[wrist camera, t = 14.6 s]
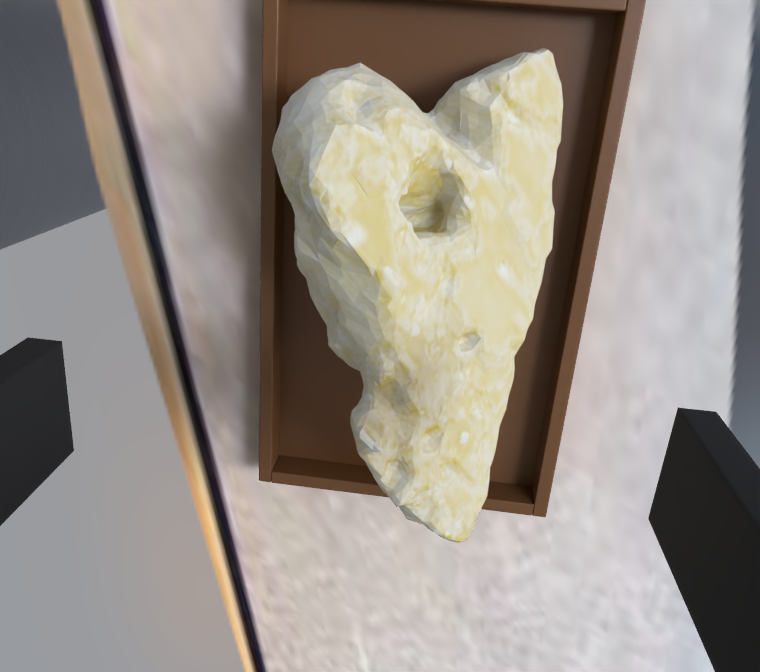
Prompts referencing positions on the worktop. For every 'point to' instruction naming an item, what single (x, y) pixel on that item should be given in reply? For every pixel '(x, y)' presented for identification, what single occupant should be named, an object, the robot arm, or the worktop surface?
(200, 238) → the worktop surface
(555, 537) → the worktop surface
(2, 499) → the robot arm
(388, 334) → the cheese
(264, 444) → the holder
